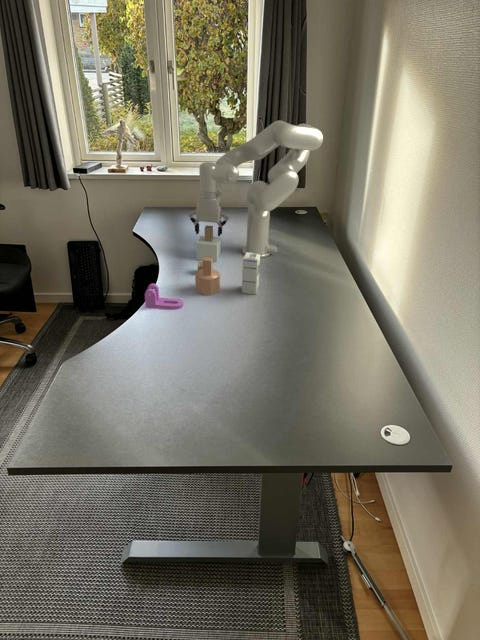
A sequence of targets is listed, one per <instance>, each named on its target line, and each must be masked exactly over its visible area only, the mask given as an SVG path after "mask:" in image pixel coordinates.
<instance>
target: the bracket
mask: <svg viewBox="0 0 480 640" xmlns="http://www.w3.org/2000/svg"><path fill="white" fill-rule="evenodd" d="M159 291H160V290H159V286H158V285H157V284H156V283H153V282H152V283H150V284H149V285H148V286H147V289H146V290H145V293H144V303H145V305H144V306H145V308H150V309H152V308H153V309H163V310H164V309H165V310H181V309H182V308H183V307H184V301H183V299H179V298H170V297H160V293H159Z"/></svg>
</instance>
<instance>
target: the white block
mask: <svg viewBox="0 0 480 640" xmlns="http://www.w3.org/2000/svg"><path fill="white" fill-rule="evenodd" d="M221 242H222V241H221V236H214V226H213V225H208V224H207V225H205V226H204V235H200V236H199V238H198V239H197V242H196V244H195V245H196V261H199V262H203V259H204V257H210V258H213V263H217V262H218V260H219V258H220V257H221V245H222V244H221Z"/></svg>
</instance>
